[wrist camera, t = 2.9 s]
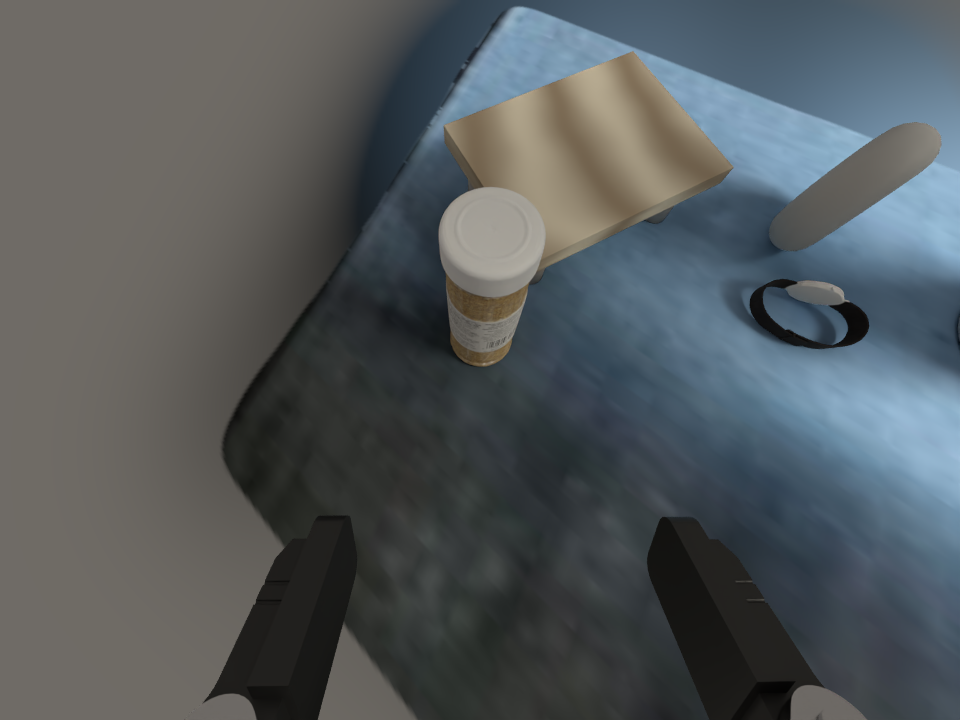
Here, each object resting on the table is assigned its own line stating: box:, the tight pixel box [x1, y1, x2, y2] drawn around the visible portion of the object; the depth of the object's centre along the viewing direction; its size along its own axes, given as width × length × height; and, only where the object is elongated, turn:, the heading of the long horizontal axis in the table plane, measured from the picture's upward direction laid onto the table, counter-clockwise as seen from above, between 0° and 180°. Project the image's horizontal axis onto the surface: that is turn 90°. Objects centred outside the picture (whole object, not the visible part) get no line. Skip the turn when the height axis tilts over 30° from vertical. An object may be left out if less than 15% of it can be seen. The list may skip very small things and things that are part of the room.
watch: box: [750, 279, 869, 349], centre depth 29 cm, size 8×5×4 cm, turn 67°
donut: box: [769, 122, 941, 251], centre depth 28 cm, size 10×4×10 cm, turn 124°
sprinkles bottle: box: [439, 187, 546, 366], centre depth 23 cm, size 5×5×14 cm
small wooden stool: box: [444, 52, 734, 284], centre depth 30 cm, size 16×12×6 cm
